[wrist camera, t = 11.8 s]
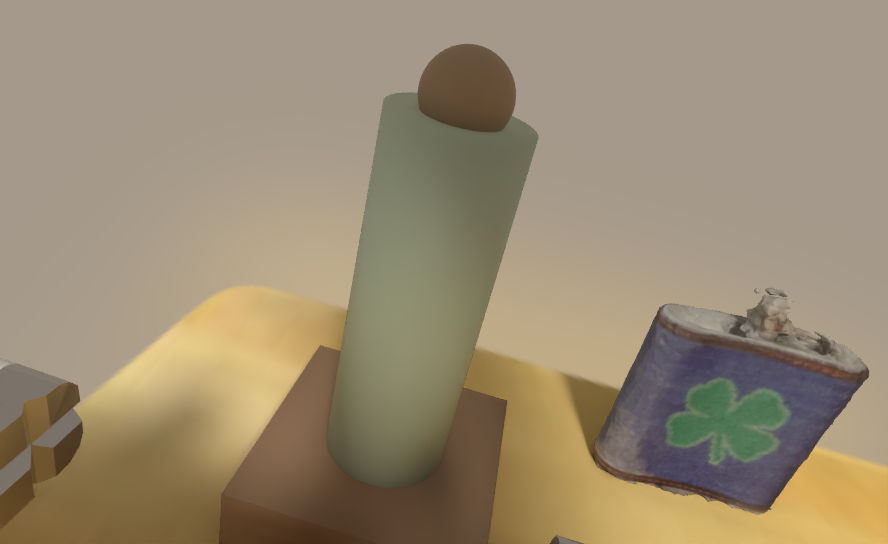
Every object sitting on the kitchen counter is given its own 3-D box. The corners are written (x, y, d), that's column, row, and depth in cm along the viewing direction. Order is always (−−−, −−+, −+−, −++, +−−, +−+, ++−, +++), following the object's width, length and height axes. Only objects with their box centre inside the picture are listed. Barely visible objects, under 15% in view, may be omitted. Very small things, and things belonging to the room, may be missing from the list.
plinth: (490, 447, 28) (507, 400, 27) (462, 629, 21) (483, 576, 19) (312, 394, 29) (320, 345, 28) (218, 551, 21) (221, 494, 20)
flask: (592, 474, 29) (683, 285, 24) (587, 432, 31) (667, 254, 26) (779, 523, 28) (910, 344, 23) (758, 477, 31) (872, 307, 26)
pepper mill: (451, 418, 25) (560, 57, 18) (429, 503, 21) (559, 80, 14) (348, 388, 25) (416, 19, 18) (308, 465, 21) (375, 31, 14)
